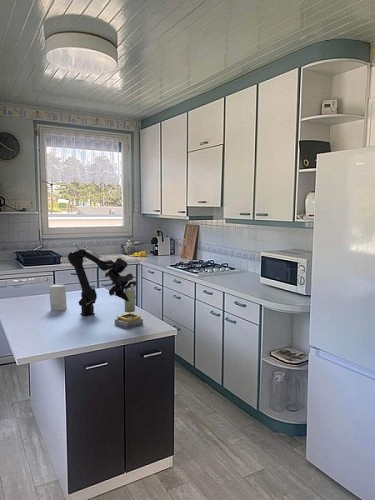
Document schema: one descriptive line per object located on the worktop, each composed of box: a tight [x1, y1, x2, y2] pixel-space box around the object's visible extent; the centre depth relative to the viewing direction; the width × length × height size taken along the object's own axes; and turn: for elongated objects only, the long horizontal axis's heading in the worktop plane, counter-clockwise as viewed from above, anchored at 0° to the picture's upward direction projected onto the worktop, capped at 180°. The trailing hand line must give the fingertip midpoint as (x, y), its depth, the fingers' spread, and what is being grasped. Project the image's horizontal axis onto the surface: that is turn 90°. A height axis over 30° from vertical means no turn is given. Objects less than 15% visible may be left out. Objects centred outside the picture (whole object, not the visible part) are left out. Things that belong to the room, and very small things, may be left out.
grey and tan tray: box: [114, 312, 144, 330], centre depth 213 cm, size 11×11×4 cm
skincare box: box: [48, 284, 68, 312], centre depth 243 cm, size 8×7×16 cm
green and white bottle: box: [124, 284, 136, 313], centre depth 215 cm, size 6×6×15 cm
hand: (131, 299), depth 214 cm, fingers closed on green and white bottle, 6 cm apart
